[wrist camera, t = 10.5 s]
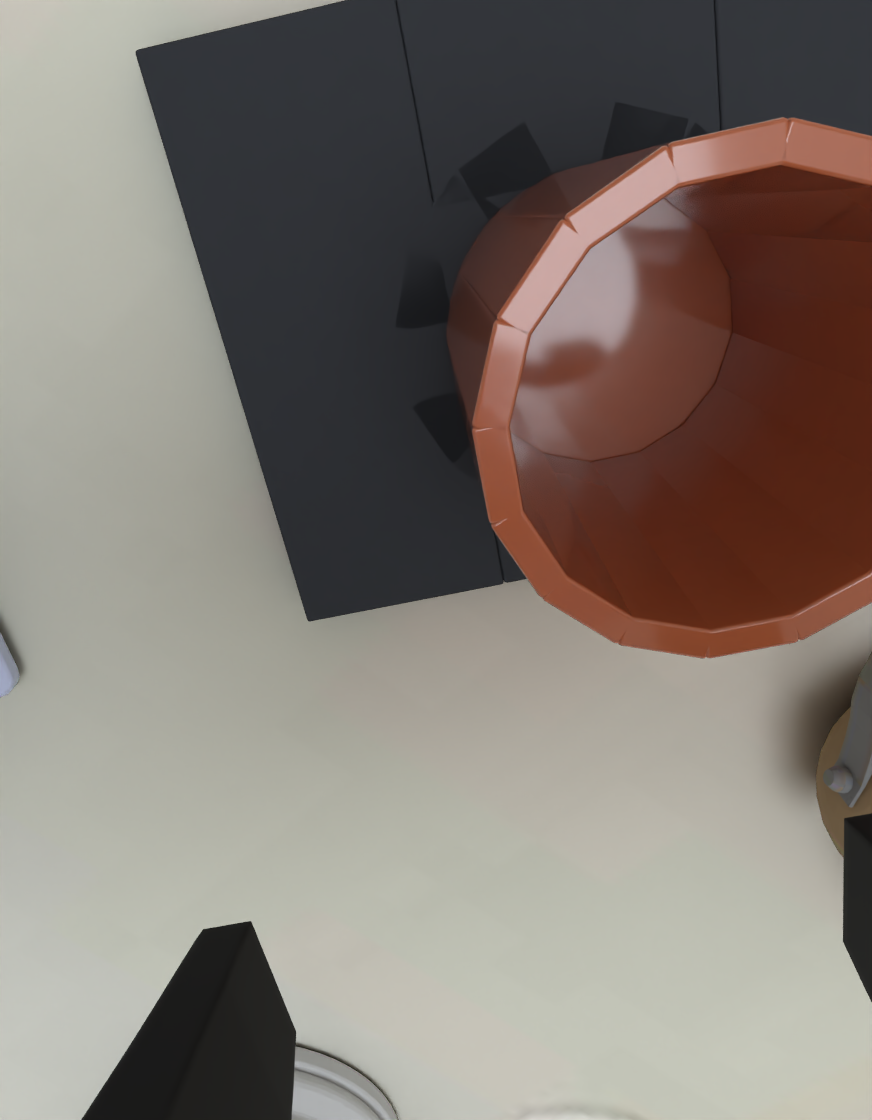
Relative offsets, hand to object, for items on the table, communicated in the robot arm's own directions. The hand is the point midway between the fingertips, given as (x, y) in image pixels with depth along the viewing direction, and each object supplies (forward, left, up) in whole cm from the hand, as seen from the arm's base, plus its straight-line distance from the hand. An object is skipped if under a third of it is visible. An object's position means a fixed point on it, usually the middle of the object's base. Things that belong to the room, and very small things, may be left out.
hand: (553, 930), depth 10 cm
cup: (+3, +6, -9) cm, 11 cm away
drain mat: (+4, +6, -9) cm, 12 cm away
